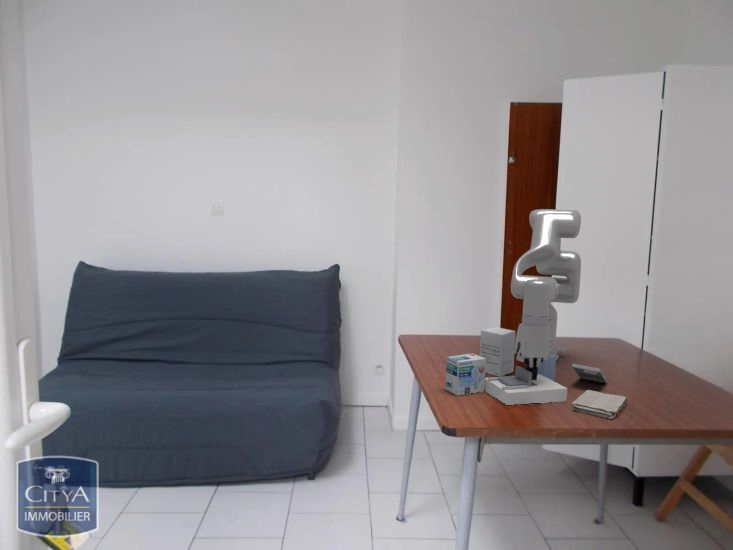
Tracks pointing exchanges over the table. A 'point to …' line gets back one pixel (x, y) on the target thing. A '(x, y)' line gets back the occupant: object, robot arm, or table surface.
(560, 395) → the socket block
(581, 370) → the light switch
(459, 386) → the light bulb box
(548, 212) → the robot arm
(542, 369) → the plug
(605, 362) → the table surface
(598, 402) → the washcloth
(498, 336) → the supplement box
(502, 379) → the block
